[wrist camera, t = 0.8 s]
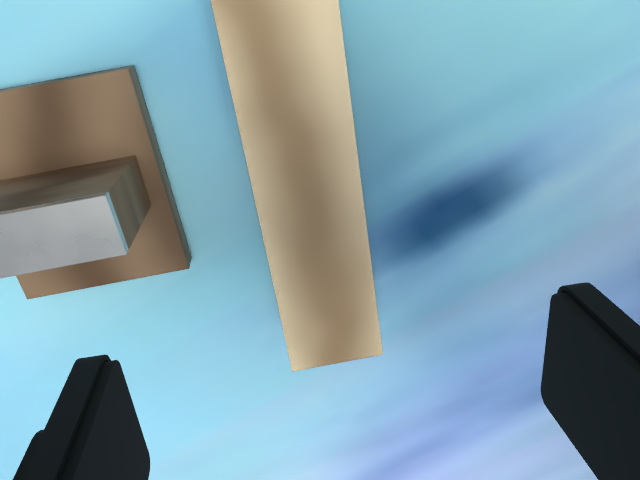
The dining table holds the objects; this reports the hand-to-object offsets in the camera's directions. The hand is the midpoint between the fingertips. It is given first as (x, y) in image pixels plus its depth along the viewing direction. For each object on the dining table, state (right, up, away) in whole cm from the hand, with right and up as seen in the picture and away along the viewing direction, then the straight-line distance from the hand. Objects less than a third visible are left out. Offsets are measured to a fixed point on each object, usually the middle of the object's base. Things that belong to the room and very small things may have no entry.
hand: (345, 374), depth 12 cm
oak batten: (-2, +9, +21) cm, 23 cm away
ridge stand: (-15, +6, +20) cm, 26 cm away
